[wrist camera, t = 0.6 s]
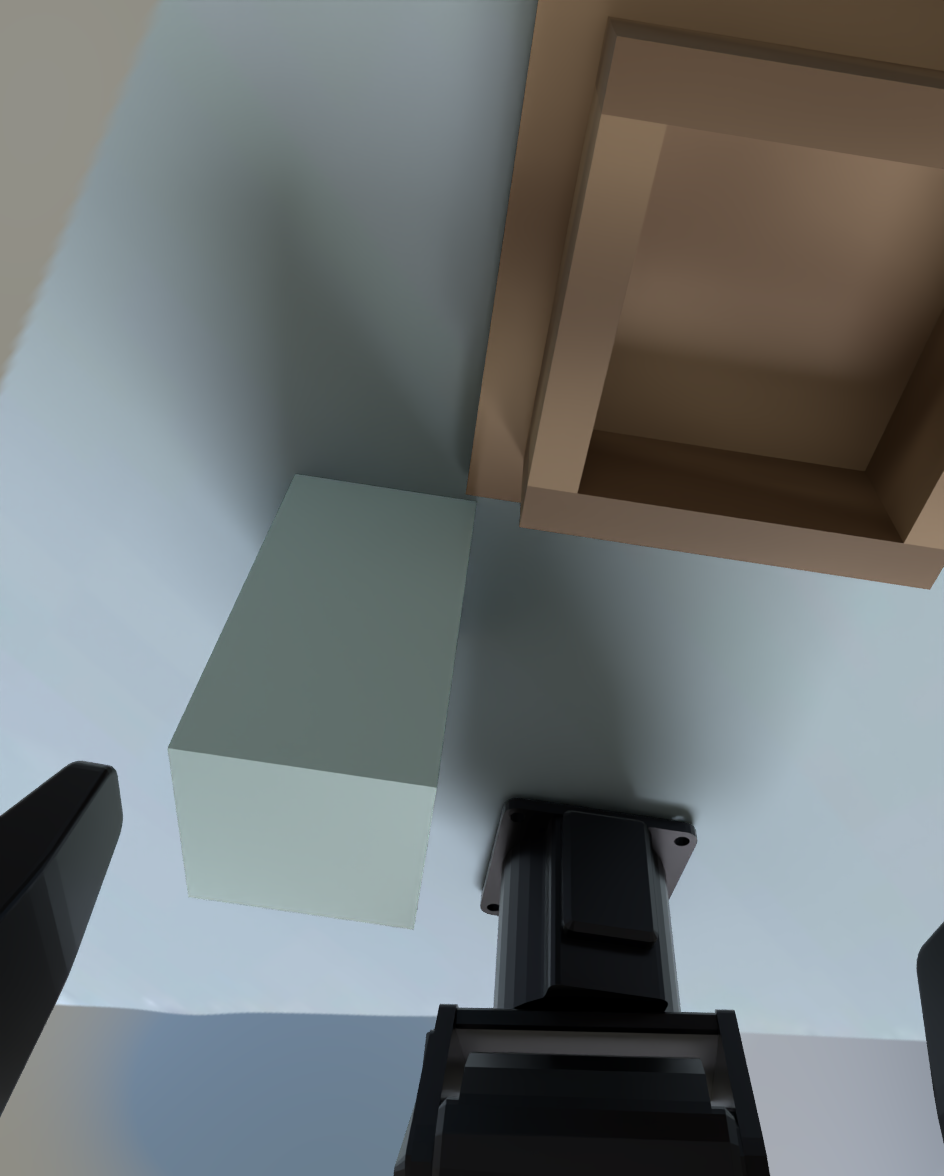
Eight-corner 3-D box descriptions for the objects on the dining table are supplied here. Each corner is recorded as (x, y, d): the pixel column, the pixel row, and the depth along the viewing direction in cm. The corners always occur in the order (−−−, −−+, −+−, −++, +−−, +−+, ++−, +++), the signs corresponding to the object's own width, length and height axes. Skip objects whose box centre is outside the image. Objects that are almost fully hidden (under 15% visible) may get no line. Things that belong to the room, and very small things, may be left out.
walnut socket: (906, 544, 21) (958, 640, 19) (468, 477, 21) (454, 564, 18) (1193, 21, 15) (1346, 48, 12) (550, -87, 14) (549, -84, 12)
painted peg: (455, 636, 25) (413, 930, 18) (295, 612, 24) (188, 897, 17) (476, 501, 22) (436, 787, 15) (295, 473, 22) (167, 748, 15)
